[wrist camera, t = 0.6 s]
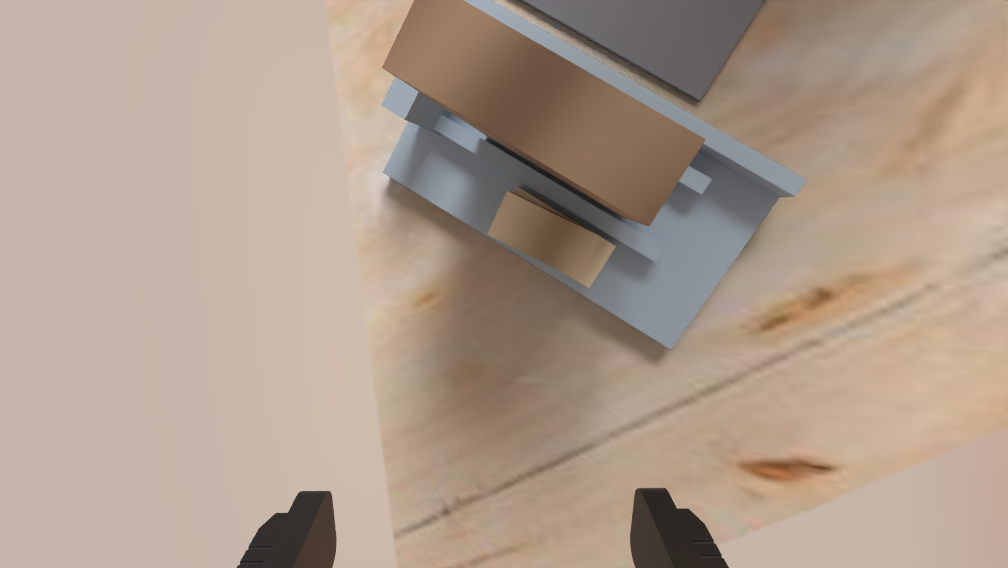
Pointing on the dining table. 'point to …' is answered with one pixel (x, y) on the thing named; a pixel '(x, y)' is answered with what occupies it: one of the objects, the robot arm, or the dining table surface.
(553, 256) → the offcut upper
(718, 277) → the rack
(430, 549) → the dining table surface
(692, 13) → the mat
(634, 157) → the walnut board
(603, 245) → the offcut lower
